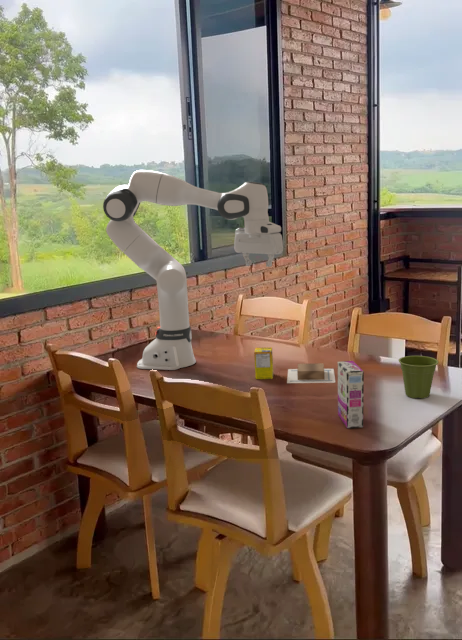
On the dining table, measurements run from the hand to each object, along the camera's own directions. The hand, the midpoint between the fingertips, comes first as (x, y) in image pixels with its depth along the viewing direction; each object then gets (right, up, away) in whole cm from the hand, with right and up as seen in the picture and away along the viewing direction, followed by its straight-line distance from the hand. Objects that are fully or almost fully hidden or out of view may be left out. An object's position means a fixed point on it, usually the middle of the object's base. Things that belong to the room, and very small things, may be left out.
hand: (258, 265), depth 241 cm
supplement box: (+2, -41, -10) cm, 42 cm away
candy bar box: (+24, -49, -52) cm, 75 cm away
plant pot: (+48, -43, -33) cm, 73 cm away
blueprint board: (+17, -40, -12) cm, 45 cm away
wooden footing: (+17, -39, -12) cm, 44 cm away
